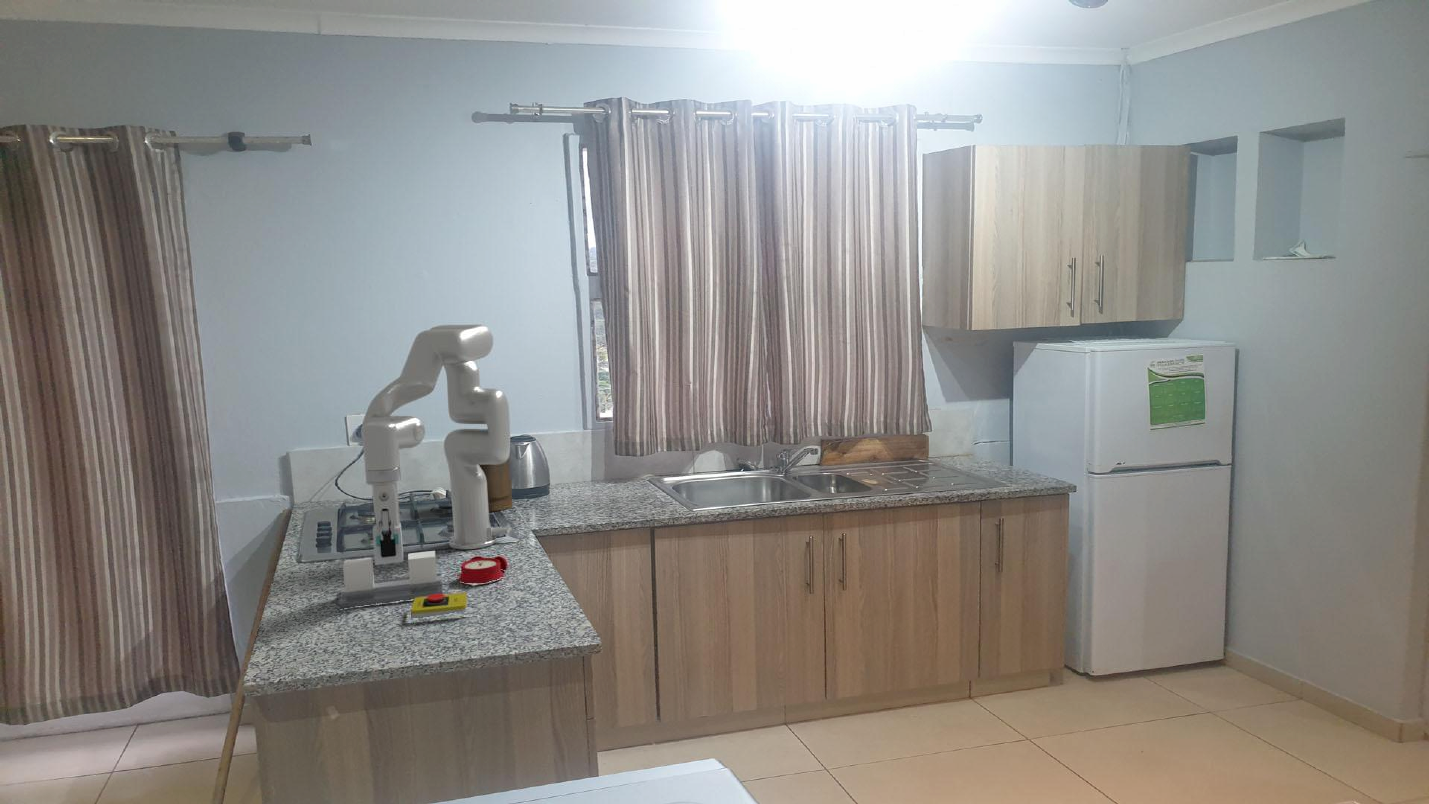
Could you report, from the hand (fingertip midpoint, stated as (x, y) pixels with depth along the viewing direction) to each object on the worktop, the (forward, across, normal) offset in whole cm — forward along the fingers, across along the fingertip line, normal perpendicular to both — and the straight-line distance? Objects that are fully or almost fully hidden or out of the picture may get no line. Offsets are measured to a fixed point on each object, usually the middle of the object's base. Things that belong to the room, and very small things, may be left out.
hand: (389, 552), depth 222 cm
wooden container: (+10, +77, -27) cm, 82 cm away
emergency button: (+11, -17, -11) cm, 23 cm away
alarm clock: (+10, +5, -21) cm, 24 cm away
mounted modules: (+8, 0, 0) cm, 8 cm away
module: (+2, 0, 0) cm, 2 cm away
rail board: (+10, 0, 0) cm, 10 cm away
